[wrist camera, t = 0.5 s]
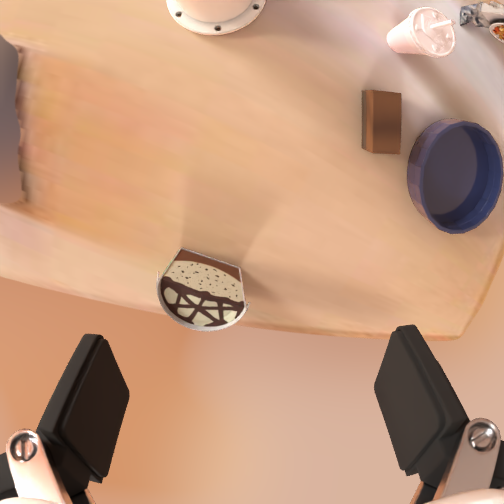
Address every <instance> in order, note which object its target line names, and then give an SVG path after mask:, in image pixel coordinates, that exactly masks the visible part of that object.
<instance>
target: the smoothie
mask: <svg viewBox="0 0 504 504" xmlns="http://www.w3.org/2000/svg"><path fill="white" fill-rule="evenodd" d="M454 24H455V21H454V20H448V19H447V18H446V17H445V16H444V15H443V14H442V13H441V12H439V11H438V10H436V9H434V8H431V7H421V8H418V9H415V10H413V11H412V12H411V13H410V15H409V17H408V18H407V19H405V20H404V21H403V22H401V23H400V24H399V25H397V26H396V27H395V28H393V29H392V30H391V31H389V33H388V34H387V42H388V45H389V46H390V48H391V49H392V50H393V51H395V52H397V53H406V54H425V55H428V56H430V57H434V58H440V57H445V56H447V55H449V54H450V53H452V51H453V50H454V48H455V43H456V37H455V32H454V29H453V27H452V25H454Z"/></svg>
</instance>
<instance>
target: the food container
mask: <svg viewBox="0 0 504 504" xmlns="http://www.w3.org/2000/svg"><path fill="white" fill-rule="evenodd" d="M157 294H158V298H159V301H160V304H161V306H162V307H163V309H164V311H165V312H166V313H167V314H168V315H169V316H170V317H171V318H172V319H173V320H174V321H176V322H177V323H179V324H181V325H183V326H185V327H187V328H190V329H194V330H198V331H217V330H221V329H225V328H227V327H230V326H231V325H233V324H235V323H236V322H237V321H239V320H240V319H241V317H242V316H243V315H244V314H245V313H246V311H247V309H248V308H249V305H250V302H249V303H248V304H247V306H246V300H245V294H244V287H243V281H242V274H241V268H240V267H238V266H235V265H232V264H229V263H226V262H223V261H220V260H217V259H214V258H211V257H208V256H206V255H203V254H200V253H197V252H194V251H191V250H188V249H185V248H182V247H180V249H179V250H178V252H177V253H176V254H175V256H174V257H173V259H172V260H171V262H170V263H169V265H168V266H167V268H166V269H165V271H164V272H163V274H162V275H161V277H160V278H159V272H158V274H157Z"/></svg>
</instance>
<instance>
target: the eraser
mask: <svg viewBox="0 0 504 504" xmlns="http://www.w3.org/2000/svg"><path fill="white" fill-rule="evenodd" d="M400 143H401V93H394V92H386V91H376V90H364V91H362V148H363V149H365V150H367V151H369V152H372V153H385V154H400Z"/></svg>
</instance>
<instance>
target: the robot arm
mask: <svg viewBox="0 0 504 504" xmlns="http://www.w3.org/2000/svg"><path fill="white" fill-rule="evenodd" d="M265 2H266V0H167V7H168V9H169V11H170V14H171V15H172V16H173V18H174V19H175V20H176V21H177V22H178V23H179V24H180V25H181V26H183V27H184V28H186V29H188V30H190V31H192V32H195V33H199V34H202V35H223V34H228V33H232V32H234V31H237V30H240V29H242V28H243V27H245V26H247V25H248V24H250V23H251V22H252V21H253V20H255V19H256V17H257V16H258V15H259V14H260V13H261V11H262V9H263V7H264V5H265ZM254 7H257V8H258V9H257V10H255V9H254ZM180 14H181V15H182V16H181V17H178V15H180ZM217 28H220V31H217ZM374 390H375V394H376V397H377V400H378V403H379V406H380V409H381V411H382V414H383V417H384V420H385V423H386V426H387V429H388V432H389V435H390V438H391V441H392V445H393V448H394V451H395V454H396V457H397V460H398V463H399V467H400V469H401V470H405V472H406V475H407V476H410V475H413V474H416V473H419V476H420V479H421V482H420V484H419V486H418V488H417V490H416V492H415V494H414V496H413V498H412V500H411V502H410V504H504V441H502V440H501V436H500V431H499V429H498V428H497V426H496V425H495V424H494V423H493V422H492V421H490V420H488V419H484V418H476V419H474V420H472V421H470V420H469V418H468V416H467V414H466V412H465V410H464V408H463V406H462V404H461V403H460V401H459V399H458V397H457V395H456V393H455V391H454V389H453V387H452V386H451V384H450V382H449V380H448V378H447V377H446V375H445V373H444V371H443V369H442V368H441V366H440V364H439V363H438V361H437V360H436V359H435V357H434V355H433V354H432V352H431V350H430V349H429V347H428V345H427V344H426V342H425V340H424V339H423V337H422V335H421V334H420V332H419V330H418V329H417V327H416V326H415V325H406V326H399V327H397V328H396V331H393V332H392V334H391V337H390V340H389V343H388V346H387V349H386V353H385V355H384V358H383V361H382V364H381V367H380V370H379V373H378V375H377V378H376V381H375V384H374ZM128 401H129V389H128V387H127V385H126V383H125V381H124V378H123V376H122V374H121V372H120V369H119V367H118V365H117V362H116V360H115V358H114V355H113V353H112V350H111V348H110V345H109V343H108V341H107V340H106V339H104V338H103V336H102V335H97V334H85V335H84V336H83V337H82V339H81V341H80V343H79V345H78V346H77V348H76V350H75V352H74V354H73V356H72V357H71V359H70V361H69V363H68V365H67V367H66V369H65V371H64V373H63V375H62V377H61V379H60V381H59V383H58V385H57V387H56V389H55V391H54V393H53V395H52V397H51V399H50V401H49V403H48V405H47V407H46V410H45V412H44V414H43V416H42V418H41V420H40V423H39V425H38V427H37V430H36V432H34V431H32V430H30V429H22V430H18V431H16V432H15V433H13V435H11V436H10V438H9V440H8V442H7V446H6V452H5V453H3V454H1V455H0V504H96V503H95V501H94V500H93V498H92V496H91V494H90V492H89V490H88V489H87V487H88V483H89V480H90V481H93V482H97V483H102V480H103V477H106V476H107V475H108V472H109V468H110V464H111V460H112V457H113V453H114V449H115V445H116V441H117V438H118V435H119V431H120V428H121V424H122V421H123V417H124V414H125V411H126V407H127V404H128Z"/></svg>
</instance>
